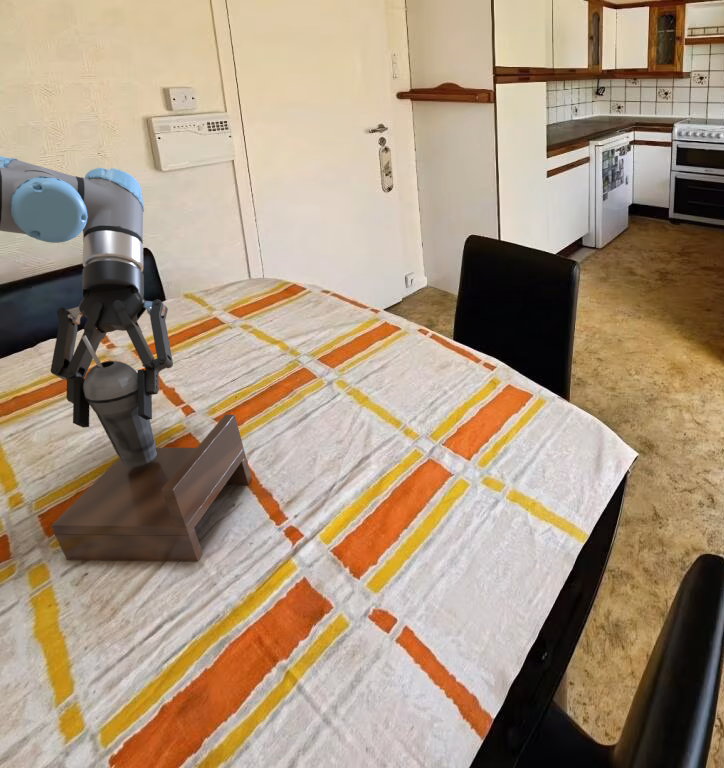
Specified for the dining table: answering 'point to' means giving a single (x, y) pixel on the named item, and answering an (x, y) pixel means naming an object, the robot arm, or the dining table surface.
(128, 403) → the beverage cup
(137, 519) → the shelf
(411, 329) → the dining table surface
